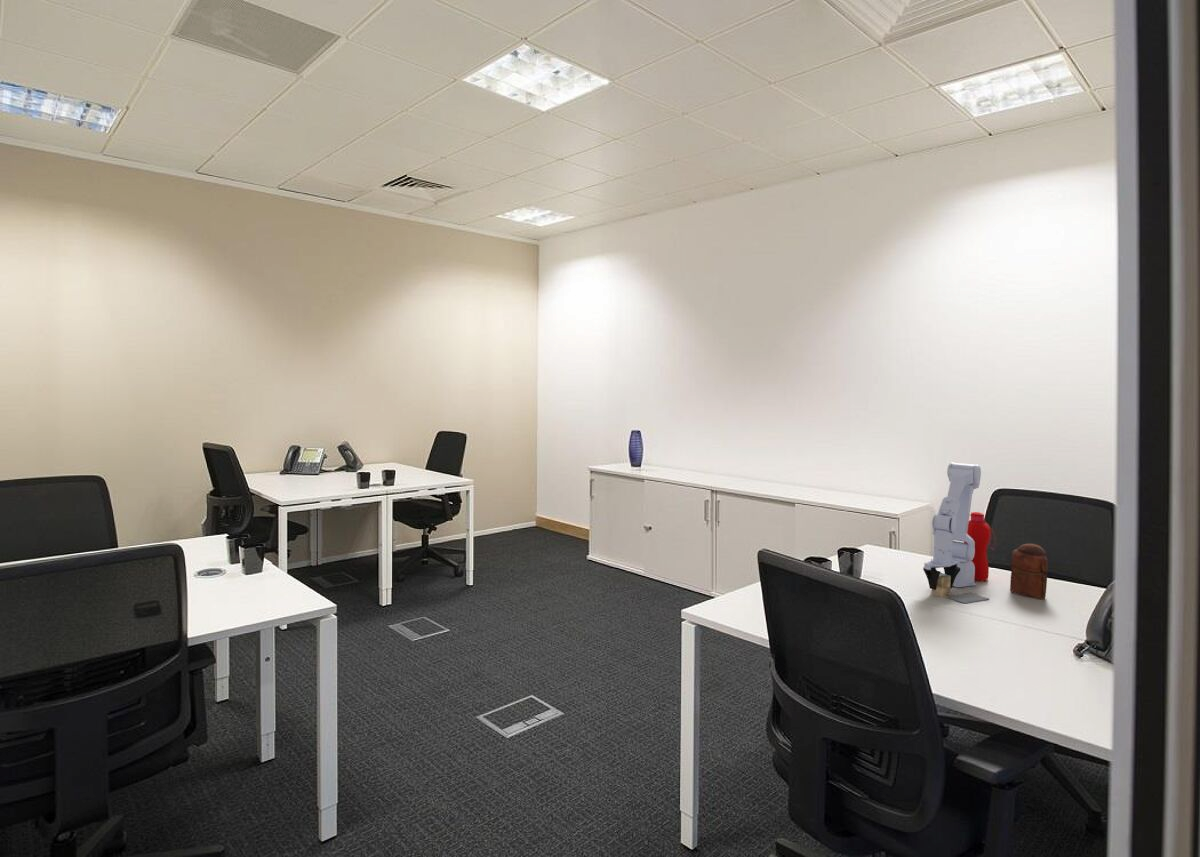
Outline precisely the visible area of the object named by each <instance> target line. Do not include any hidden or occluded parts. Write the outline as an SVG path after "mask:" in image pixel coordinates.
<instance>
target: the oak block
mask: <svg viewBox="0 0 1200 857" xmlns="http://www.w3.org/2000/svg"><path fill="white" fill-rule="evenodd" d="M950 580H951V576H950V575H947V574H945V572H944V573H943V572H941V573H940V575H939V577H938V581H937V588H936V590H933V589H931V594H932V595H935V596H938V597H940V598H943V597H946V596H951V595H950V594H951V588H950Z"/></svg>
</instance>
